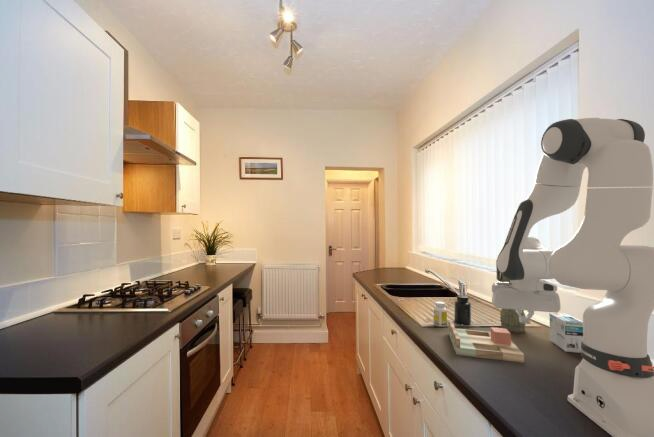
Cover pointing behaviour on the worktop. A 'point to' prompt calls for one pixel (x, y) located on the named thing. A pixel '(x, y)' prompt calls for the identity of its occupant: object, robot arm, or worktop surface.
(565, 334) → the light bulb box
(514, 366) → the worktop surface
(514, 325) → the thermos
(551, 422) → the worktop surface
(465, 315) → the supplement bottle
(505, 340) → the block
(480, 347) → the board
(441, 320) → the supplement bottle
